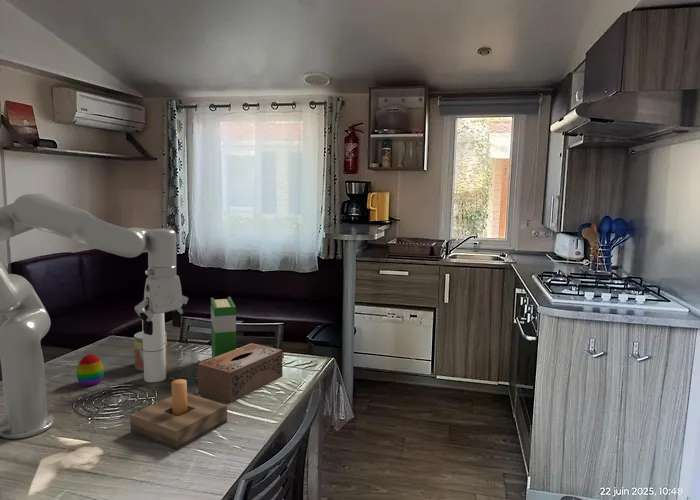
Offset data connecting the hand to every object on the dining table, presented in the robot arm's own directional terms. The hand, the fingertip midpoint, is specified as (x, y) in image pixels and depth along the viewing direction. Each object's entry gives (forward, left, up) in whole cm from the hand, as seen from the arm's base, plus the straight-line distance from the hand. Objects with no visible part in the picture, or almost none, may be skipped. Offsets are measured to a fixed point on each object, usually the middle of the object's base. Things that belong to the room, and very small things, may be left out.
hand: (162, 330), depth 142 cm
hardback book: (+39, +14, -25) cm, 49 cm away
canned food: (+24, +36, -25) cm, 50 cm away
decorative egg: (+2, +39, -25) cm, 47 cm away
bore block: (-4, -11, -25) cm, 27 cm away
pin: (-4, -11, -24) cm, 27 cm away
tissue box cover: (+28, -5, -26) cm, 38 cm away
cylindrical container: (+16, +24, -25) cm, 39 cm away
